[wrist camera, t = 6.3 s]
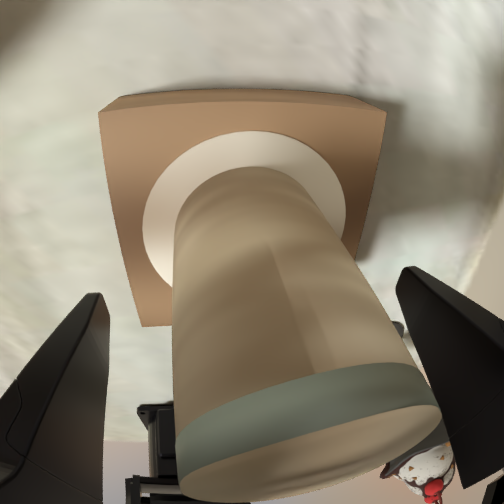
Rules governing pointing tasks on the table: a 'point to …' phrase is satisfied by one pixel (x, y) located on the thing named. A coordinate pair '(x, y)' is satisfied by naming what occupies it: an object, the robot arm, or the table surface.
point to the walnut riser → (228, 165)
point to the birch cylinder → (281, 349)
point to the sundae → (425, 462)
